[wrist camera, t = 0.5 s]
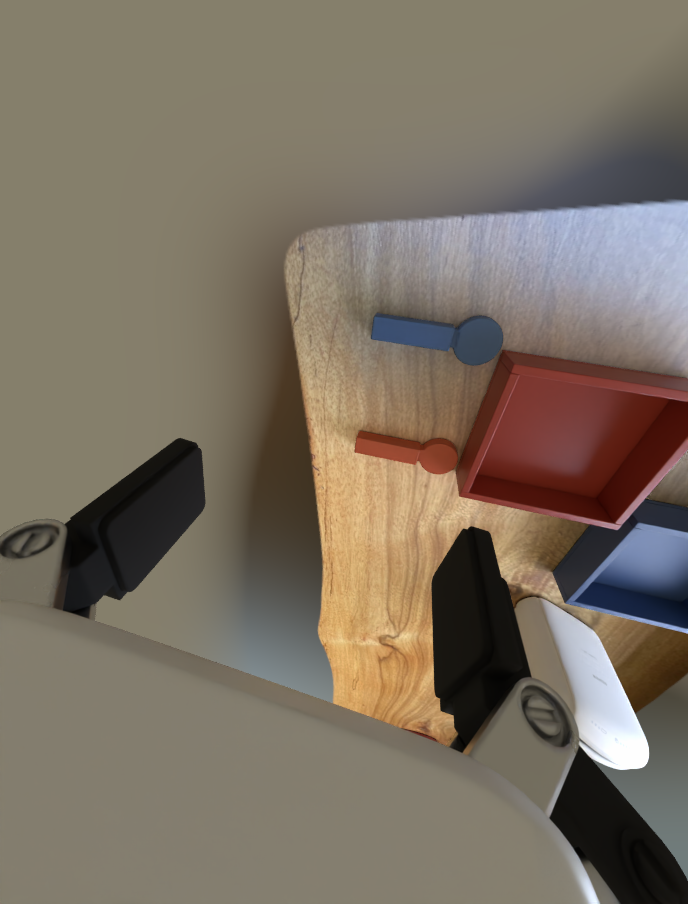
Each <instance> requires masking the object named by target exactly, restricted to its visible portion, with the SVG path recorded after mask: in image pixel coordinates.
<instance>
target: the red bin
mask: <svg viewBox="0 0 688 904" xmlns="http://www.w3.org/2000/svg"><path fill="white" fill-rule="evenodd" d="M687 450H688V378H682V377H676V376H669V375H663V374H656V373H650V372H643V371H637V370H630V369H624V368H617V367H611V366H604V365H598V364H591V363H585V362H578V361H572V360H565V359H559V358H552V357H546V356H539V355H533V354H527V353H520V352H514V351H507V350H502V353H501V355H500V358H499V360H498V363H497V366H496V368H495V371H494V373H493V376H492V379H491V381H490V384H489V386H488V389H487V392H486V394H485V397H484V399H483V402H482V405H481V407H480V410H479V412H478V415H477V418H476V420H475V423H474V426H473V428H472V431H471V433H470V436H469V439H468V441H467V444H466V446H465V449H464V452H463V454H462V457H461V459H460V462H459V465H458V467H457V470H456V477H457V484H458V491H459V496H460V497H464V498H469V499H474V500H478V501H483V502H488V503H492V504H497V505H502V506H507V507H511V508H516V509H521V510H525V511H530V512H535V513H539V514H544V515H549V516H553V517H558V518H563V519H567V520H572V521H577V522H582V523H586V524H591V525H596V526H600V527H605V528H610V529H614V530H618V529H619V528H620V527H621V526H622V524H623V523H624V522H625V521H626V520H627V519H628V518H629V517H630V515H631V514H632V513H633V512H634V511H635V510H636V509H637V507H638V506H639V505H640V504H641V503H642V502H643V501H644V499H645V498H646V497H647V496H648V495H649V494H650V492H651V491H652V490H653V489H654V488H655V487H656V486H657V484H658V483H659V482H660V481H661V480H662V479H663V478H664V476H665V475H666V474H667V473H668V472H669V471H670V470H671V468H672V467H673V466H674V465H675V464H676V463H677V462H678V460H679V459H680V458H681V457H682V456H683V455H684V454H685V452H686V451H687Z"/></svg>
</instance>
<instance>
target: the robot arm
mask: <svg viewBox="0 0 688 904" xmlns="http://www.w3.org/2000/svg"><path fill="white" fill-rule="evenodd" d="M204 491H205V490H204V477H203V463H202V451H201V449H200V448H198V445H197V444H196V443H195V442H192V441H188V440H185V439H182V438H178V439H176V440H175V441H174V442H172V443H171V444H170V445H168V446H167V447H166V448H164V449H163V450H161V451H160V452H159V453H157V454H156V455H155V456H153V457H152V458H150V459H149V460H148V461H146V462H145V463H144V464H142V465H141V466H140V467H138V468H137V469H136V470H134V471H133V472H132V473H131V474H129V475H128V476H126V477H125V478H123V479H122V480H121V481H119V482H118V483H117V484H116V485H114V486H113V487H111V488H110V489H109V490H107V491H106V492H105V493H103V494H102V495H101V496H99V497H98V498H97V499H95V500H94V501H92V502H91V503H90V504H88V505H87V506H86V507H84V508H83V509H82V510H80V511H79V512H78V513H76V514H75V515H74V516H72V517H71V518H70V519H71V520H70V521H68V522H67V523H66V524H63V523H62V522H60V521H58V520H54V519H39V520H33V521H29V522H25V523H23V524H20V525H18V526H16V527H13V528H12V529H10V530H8V531H7V532H5V533H3V534H2V535H1V536H0V904H688V881H687V878H686V876H685V875H684V873H683V871H682V869H681V868H680V866H679V864H678V863H677V861H676V859H675V857H674V856H673V855H672V854H671V852H670V851H669V850H668V848H667V847H666V846H665V844H664V843H663V842H662V840H661V839H660V838H659V837H658V836H657V835H656V834H655V832H654V831H653V830H652V829H651V828H650V827H649V825H648V824H647V823H646V822H645V821H644V820H643V818H642V817H641V816H640V815H639V814H638V813H637V811H636V810H635V809H634V808H633V807H632V806H631V804H630V803H629V802H628V801H627V800H626V799H625V798H624V796H623V795H622V794H621V793H620V792H619V790H618V789H617V788H616V787H615V786H614V785H613V784H612V783H611V781H610V780H609V779H608V778H607V777H606V775H605V774H604V773H603V772H602V771H601V770H600V768H599V767H598V766H597V765H596V764H595V763H594V762H593V760H592V759H591V758H590V757H589V756H588V755H587V753H586V752H585V751H584V750H583V749H582V748H581V746H580V745H579V741H580V737H579V731H578V726H577V724H576V721H575V718H574V716H573V714H572V712H571V711H570V709H569V707H568V706H567V704H566V702H565V701H564V700H563V699H562V698H561V697H560V695H559V694H558V693H557V692H556V691H555V690H554V689H552V688H551V687H550V686H549V685H548V684H546V683H544V682H542V681H540V680H539V679H535V678H532V676H531V672H530V668H529V664H528V660H527V657H526V653H525V649H524V645H523V641H522V637H521V634H520V630H519V626H518V622H517V618H516V614H515V611H514V607H513V603H512V599H511V595H510V591H509V587H508V585H507V582H506V581H505V580H504V579H503V578H501V575H500V570H499V566H498V562H497V558H496V554H495V550H494V546H493V542H492V538H491V534H490V533H489V532H488V531H485V530H482V529H479V528H475V527H472V526H471V527H469V528H468V529H463V530H462V531H461V532H460V534H459V536H458V537H457V539H456V540H455V542H454V544H453V545H452V547H451V548H450V550H449V552H448V553H447V555H446V556H445V558H444V559H443V561H442V563H441V564H440V566H439V567H438V569H437V571H436V572H435V574H434V576H433V579H432V620H433V656H434V689H435V695H436V697H437V698H440V708H441V711H442V712H445V713H448V714H451V715H454V727H455V729H456V732H455V734H454V735H453V736H452V738H451V739H450V740H449V742H448V743H447V744H446V746H445V745H443V744H440V743H438V742H436V741H433V740H431V739H428V738H425V737H423V736H420V735H417V734H415V733H412V732H409V731H407V730H404V729H401V728H399V727H396V726H394V725H391V724H388V723H386V722H383V721H380V720H378V719H375V718H372V717H369V716H366V715H364V714H361V713H358V712H355V711H352V710H350V709H347V708H344V707H341V706H338V705H335V704H333V703H330V702H327V701H324V700H321V699H319V698H316V697H313V696H310V695H307V694H305V693H301V692H299V691H296V690H293V689H291V688H288V687H285V686H282V685H279V684H276V683H273V682H271V681H267V680H265V679H262V678H259V677H256V676H254V675H251V674H248V673H245V672H242V671H239V670H237V669H234V668H231V667H228V666H225V665H222V664H219V663H217V662H213V661H211V660H208V659H205V658H202V657H199V656H197V655H194V654H191V653H188V652H185V651H182V650H179V649H176V648H173V647H171V646H167V645H165V644H162V643H159V642H156V641H153V640H150V639H147V638H144V637H141V636H138V635H136V634H133V633H130V632H127V631H124V630H121V629H118V628H115V627H112V626H109V625H106V624H103V623H100V622H97V621H95V615H96V604H97V602H98V601H99V599H101V598H102V596H103V595H106V596H109V597H112V598H114V599H117V600H120V599H122V598H123V596H124V595H125V594H126V593H127V592H131V591H133V590H134V589H135V588H136V587H137V586H138V585H139V584H140V583H141V582H142V581H143V579H144V578H145V577H146V576H147V575H148V573H149V572H150V571H151V570H152V569H153V568H154V567H155V566H156V564H157V563H158V562H159V561H160V560H161V559H162V557H163V556H164V555H165V554H166V553H167V552H168V551H169V549H170V548H171V547H172V546H173V545H174V544H175V542H176V541H177V540H178V539H179V538H180V536H182V534H183V533H184V532H185V531H186V530H187V529H188V527H189V526H190V525H191V524H192V523H193V522H194V520H195V519H196V518H197V517H198V516H199V515H200V514H201V512H202V511H203V509H204V507H205V492H204Z"/></svg>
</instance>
